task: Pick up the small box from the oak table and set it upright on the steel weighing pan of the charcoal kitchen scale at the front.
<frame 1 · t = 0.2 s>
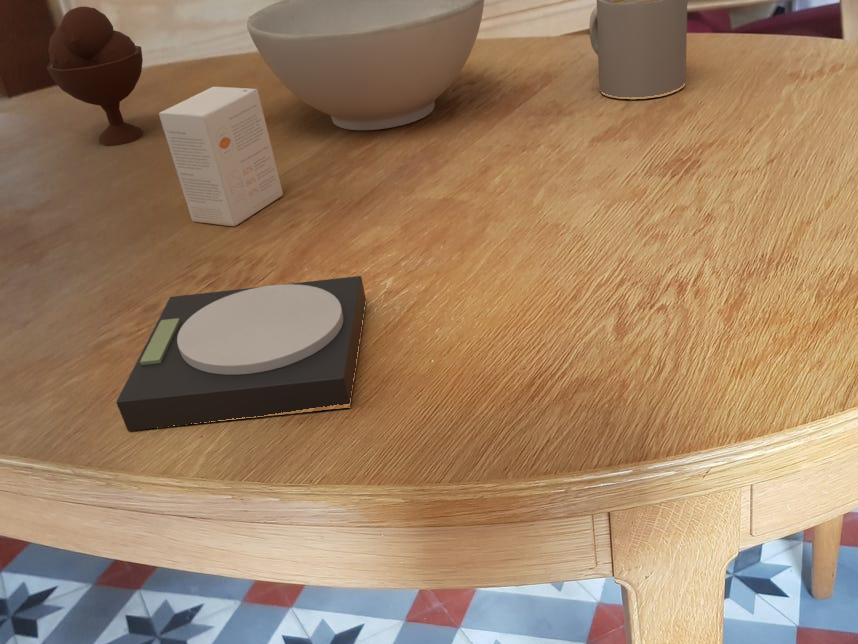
scale: (257, 362, 68), on the table
decorative bowl: (383, 115, 113), on the table
coffee mug: (634, 85, 112), on the table
ice cream bowl: (122, 139, 117), on the table
small box: (238, 211, 93), on the table
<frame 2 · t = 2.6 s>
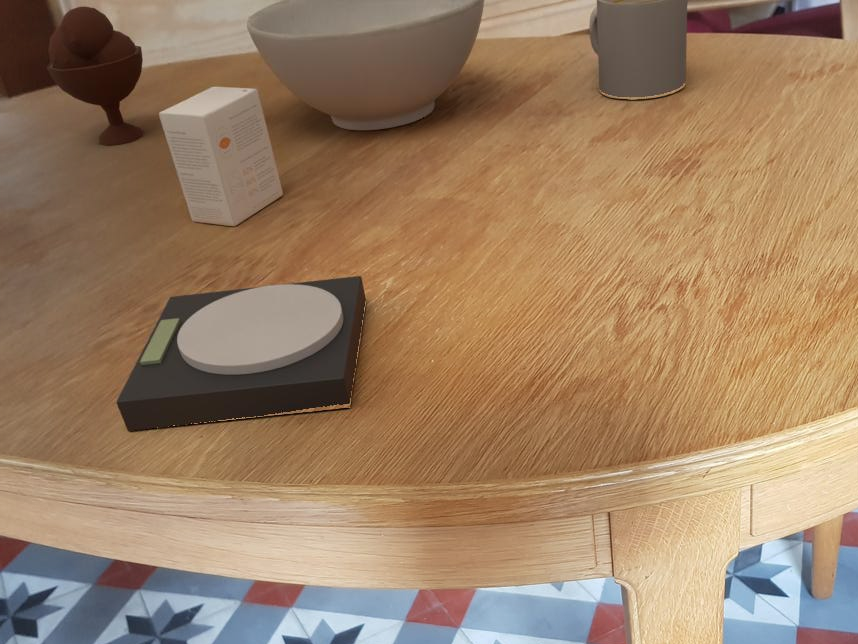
nothing on the table moved.
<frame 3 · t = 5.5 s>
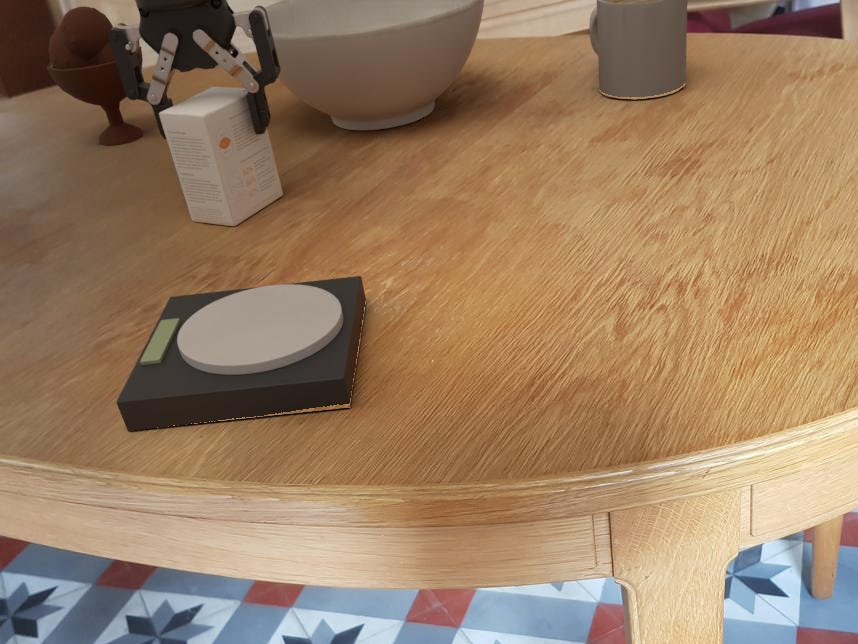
hand: (218, 137, 89), 7 cm above the table, tool pointing down, fingers closed on small box, 7 cm apart
small box: (238, 211, 93), on the table, touching gripper
everything else where it was.
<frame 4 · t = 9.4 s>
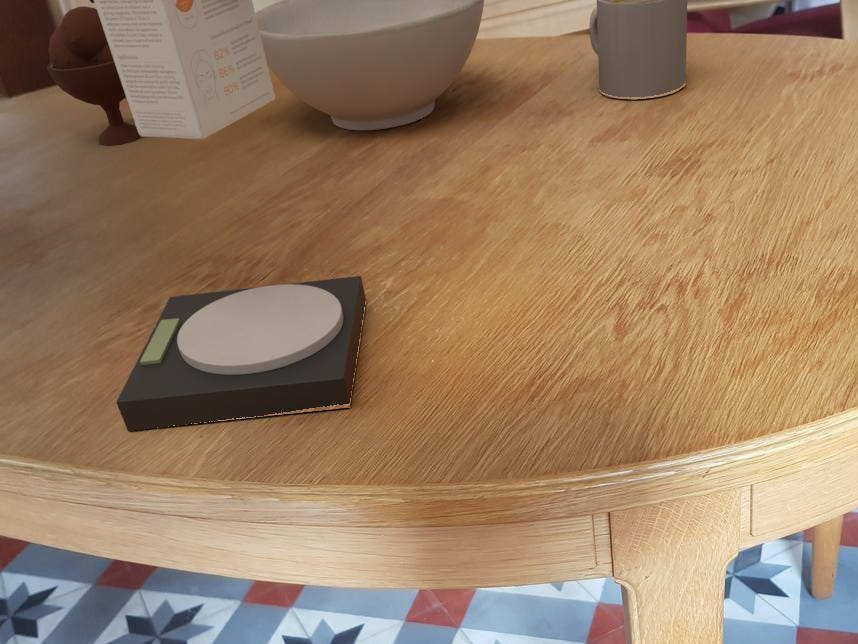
hand: (175, 0, 58), 23 cm above the table, tool pointing down, fingers closed on small box, 7 cm apart
small box: (210, 121, 62), point 16 cm above the table, touching gripper
everything else where it was.
when the fingers open (10 cm above the table, at t = 13.4 s): small box stays where it is, resting on scale.
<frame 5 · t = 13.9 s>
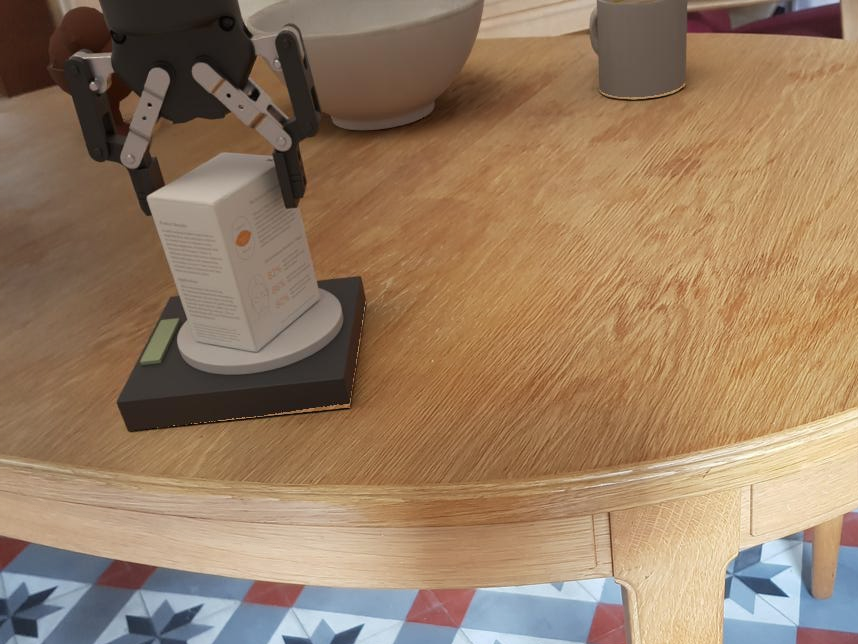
hand: (228, 211, 62), 11 cm above the table, tool pointing down, fingers open, 8 cm apart
small box: (260, 323, 67), point 3 cm above the table, touching scale
everything else where it was.
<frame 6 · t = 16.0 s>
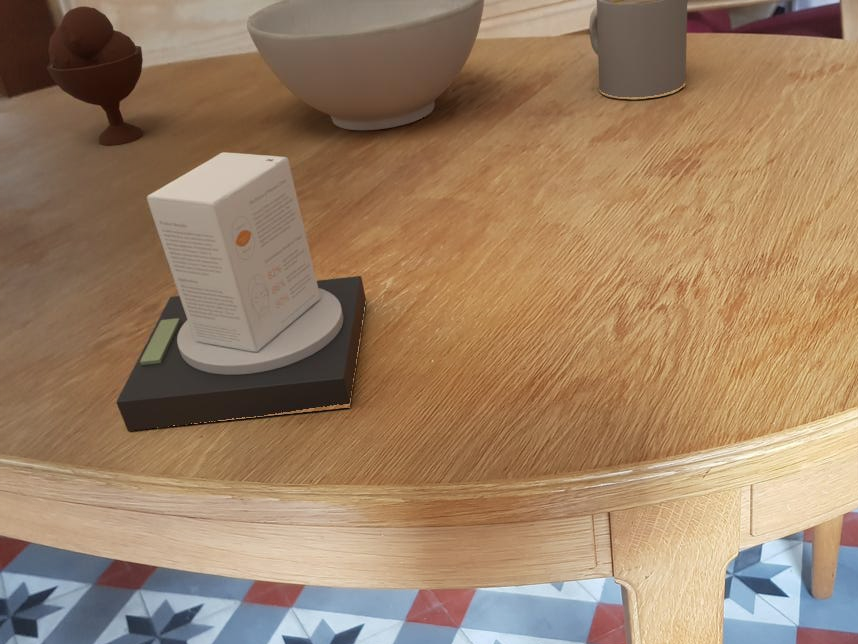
nothing on the table moved.
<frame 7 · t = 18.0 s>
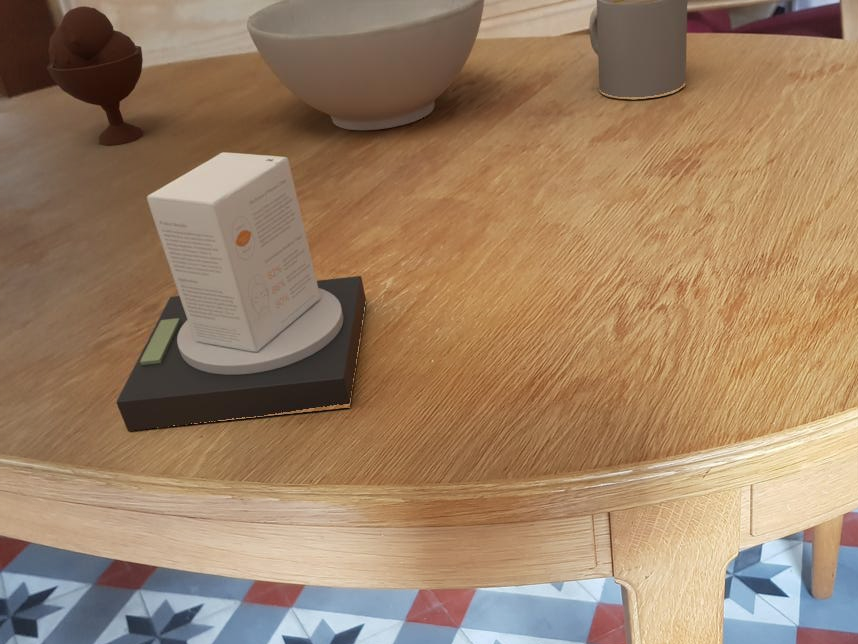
nothing on the table moved.
at the end: small box inside the target area on the scale (0.1 cm from its centre), point 3.0 cm above the scale's base; small box tilted 0°; the gripper is holding nothing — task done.
